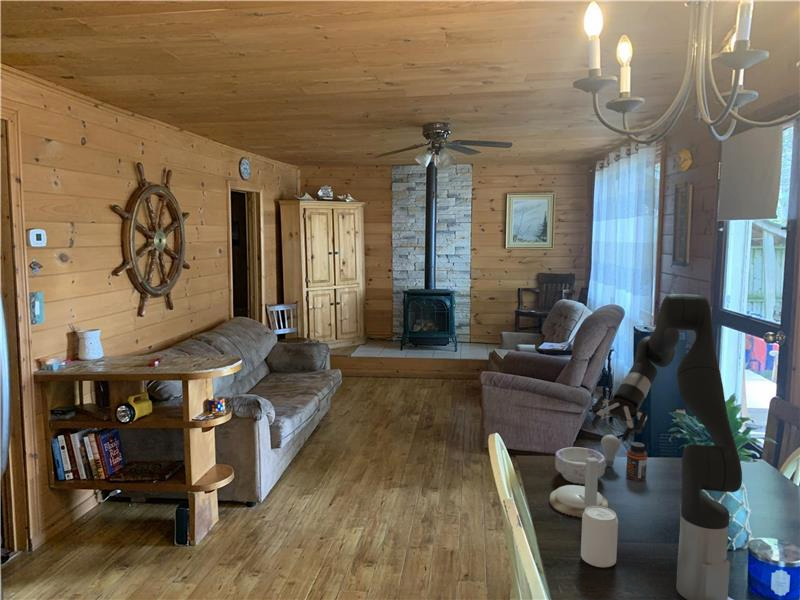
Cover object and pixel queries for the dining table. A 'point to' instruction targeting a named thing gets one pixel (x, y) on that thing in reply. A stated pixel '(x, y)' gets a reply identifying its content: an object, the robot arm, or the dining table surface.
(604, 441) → the lightbulb
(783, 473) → the dining table surface
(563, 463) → the paper bowls
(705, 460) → the robot arm
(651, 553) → the dining table surface
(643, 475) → the supplement bottle
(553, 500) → the dial base
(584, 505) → the dial
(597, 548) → the beverage can
